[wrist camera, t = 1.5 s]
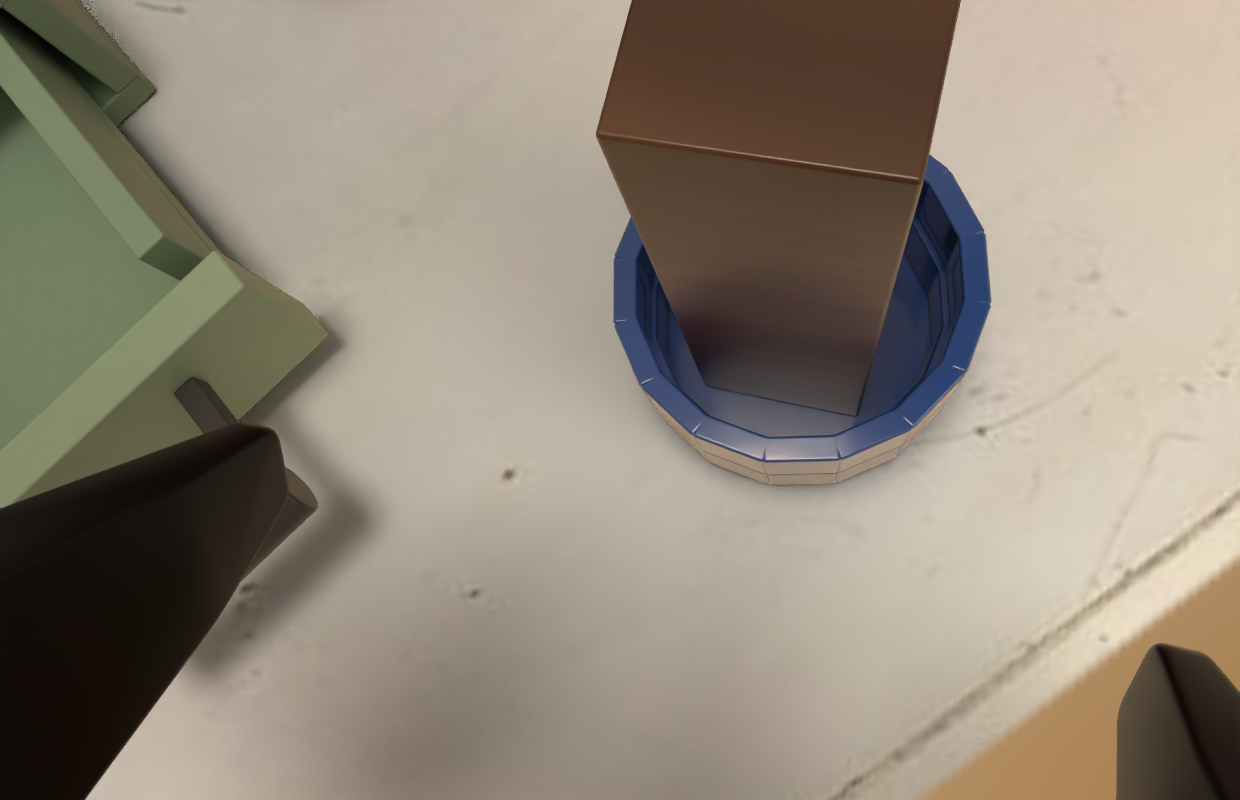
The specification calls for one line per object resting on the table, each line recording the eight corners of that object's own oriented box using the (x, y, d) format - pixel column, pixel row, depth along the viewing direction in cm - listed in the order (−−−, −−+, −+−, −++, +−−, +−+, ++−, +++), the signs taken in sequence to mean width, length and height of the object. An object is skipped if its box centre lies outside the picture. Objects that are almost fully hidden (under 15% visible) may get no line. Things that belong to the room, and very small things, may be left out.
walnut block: (857, 417, 21) (923, 183, 9) (704, 386, 22) (593, 136, 10) (888, 270, 22) (985, -118, 10) (737, 244, 22) (668, -142, 11)
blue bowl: (893, 535, 21) (913, 519, 17) (599, 423, 23) (558, 385, 19) (1000, 244, 22) (1042, 166, 18) (709, 158, 24) (691, 70, 20)
